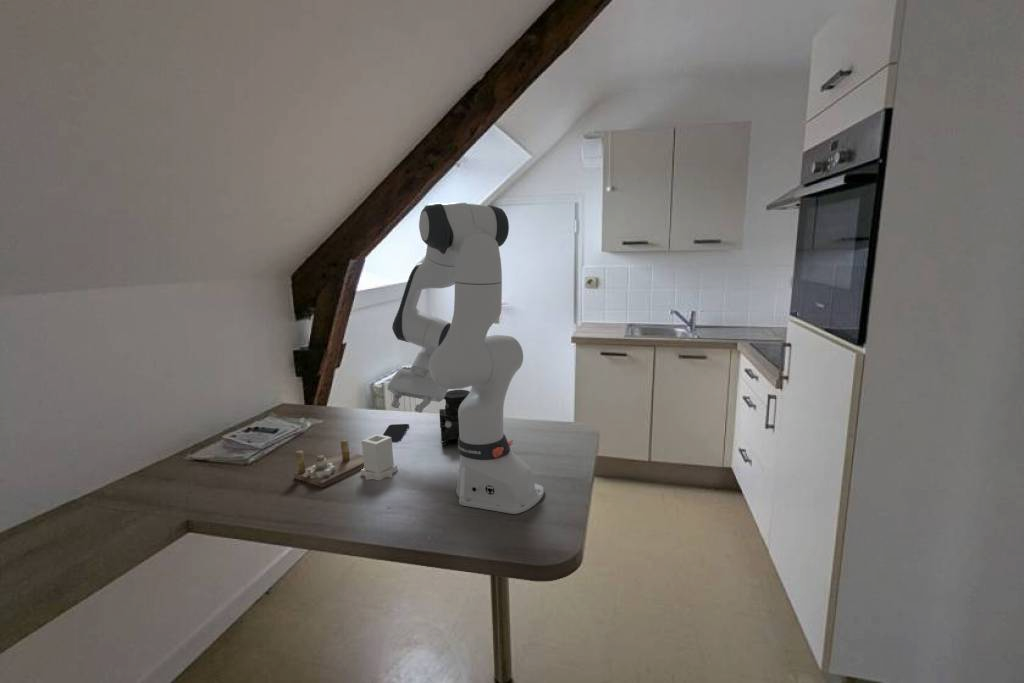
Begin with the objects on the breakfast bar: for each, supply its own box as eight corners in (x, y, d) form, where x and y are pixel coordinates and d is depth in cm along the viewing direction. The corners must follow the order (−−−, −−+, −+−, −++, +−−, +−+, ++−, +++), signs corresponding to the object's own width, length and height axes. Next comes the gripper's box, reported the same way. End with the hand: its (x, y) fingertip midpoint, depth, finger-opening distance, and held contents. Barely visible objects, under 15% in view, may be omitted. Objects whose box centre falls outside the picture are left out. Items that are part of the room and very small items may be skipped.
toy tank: (476, 427, 172) (474, 385, 169) (480, 447, 154) (478, 401, 151) (440, 430, 170) (438, 388, 167) (441, 451, 152) (438, 404, 150)
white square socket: (405, 469, 140) (402, 435, 138) (378, 484, 132) (375, 448, 130) (380, 462, 145) (377, 430, 143) (353, 476, 137) (350, 441, 135)
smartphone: (377, 441, 161) (389, 424, 175) (378, 445, 161) (389, 427, 176) (400, 441, 161) (409, 423, 175) (400, 444, 161) (410, 426, 175)
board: (373, 463, 145) (371, 438, 143) (322, 488, 130) (319, 461, 129) (346, 455, 151) (343, 432, 150) (294, 478, 137) (291, 452, 135)
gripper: (395, 360, 155) (374, 399, 149) (446, 367, 144) (425, 409, 138) (407, 371, 159) (386, 409, 153) (457, 378, 149) (437, 419, 142)
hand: (405, 409), depth 145 cm, fingers open, 8 cm apart
